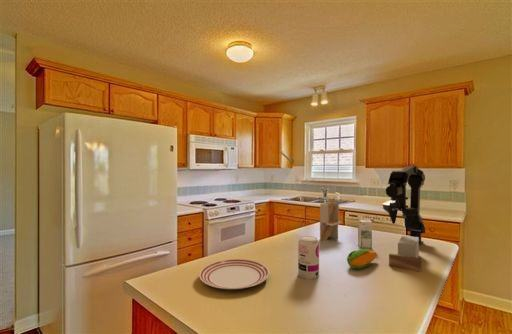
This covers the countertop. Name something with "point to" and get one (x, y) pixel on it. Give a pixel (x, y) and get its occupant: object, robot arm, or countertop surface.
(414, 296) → the countertop surface
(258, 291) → the countertop surface
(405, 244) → the slab
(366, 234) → the syrup box
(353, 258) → the corn
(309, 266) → the supplement can
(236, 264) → the dinner plate
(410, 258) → the stop rail
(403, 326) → the countertop surface
